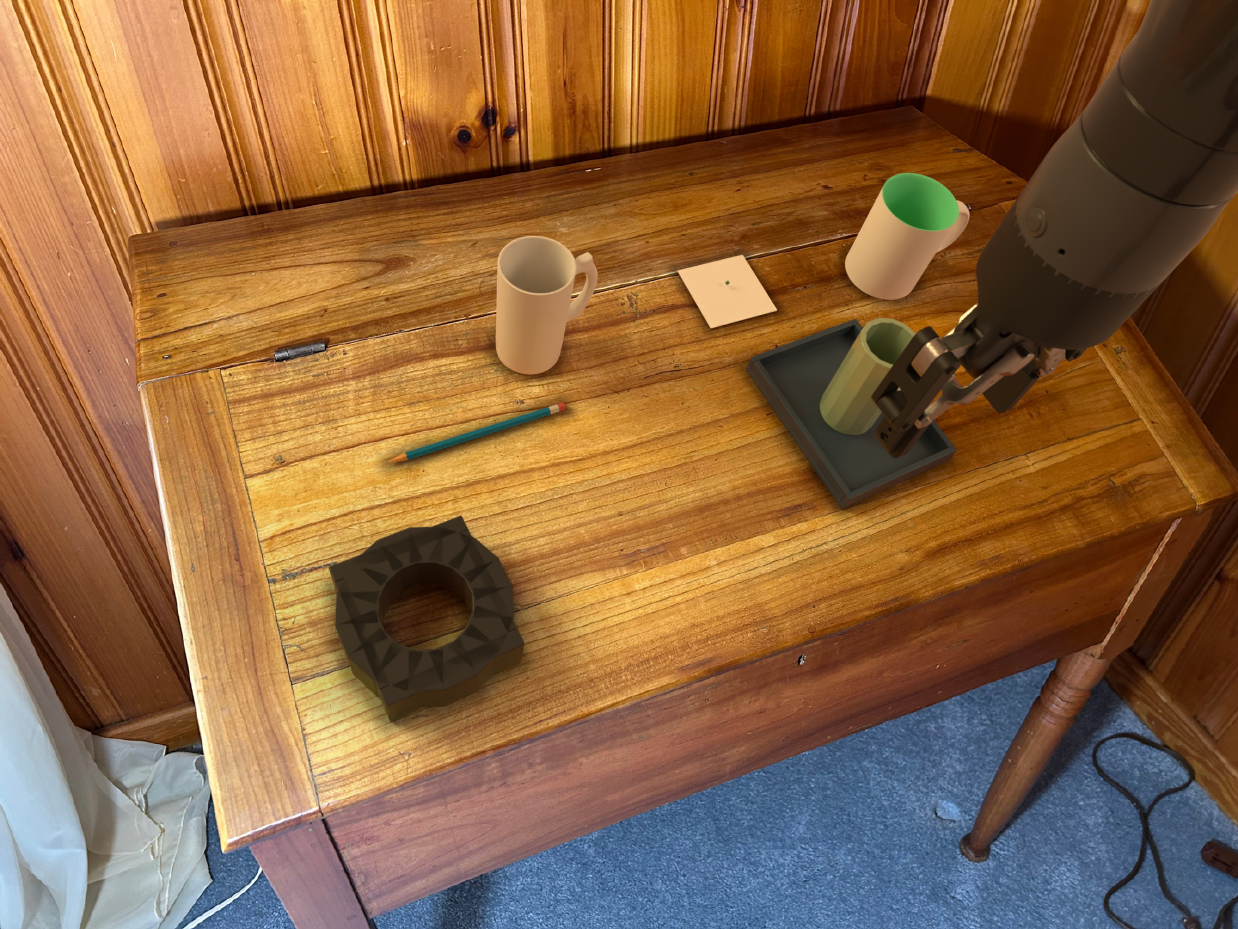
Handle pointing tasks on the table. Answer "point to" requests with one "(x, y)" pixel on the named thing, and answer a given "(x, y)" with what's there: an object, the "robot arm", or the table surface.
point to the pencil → (479, 433)
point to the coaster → (726, 291)
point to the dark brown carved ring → (403, 565)
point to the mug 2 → (904, 235)
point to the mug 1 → (537, 301)
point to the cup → (863, 376)
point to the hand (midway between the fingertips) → (942, 422)
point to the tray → (837, 458)
